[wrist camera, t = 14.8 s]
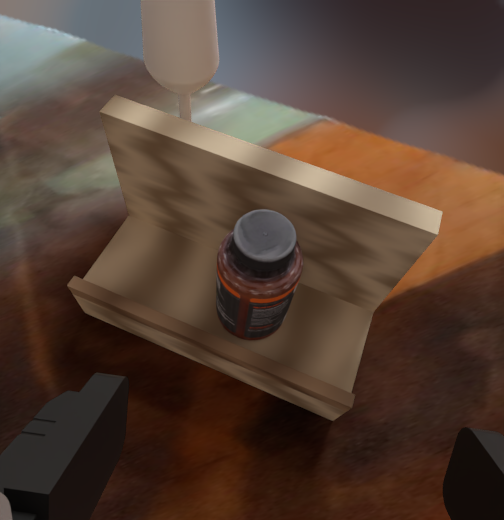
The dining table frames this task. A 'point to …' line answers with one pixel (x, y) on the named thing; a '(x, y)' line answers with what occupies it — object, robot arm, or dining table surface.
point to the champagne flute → (180, 45)
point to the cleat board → (214, 231)
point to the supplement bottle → (257, 274)
